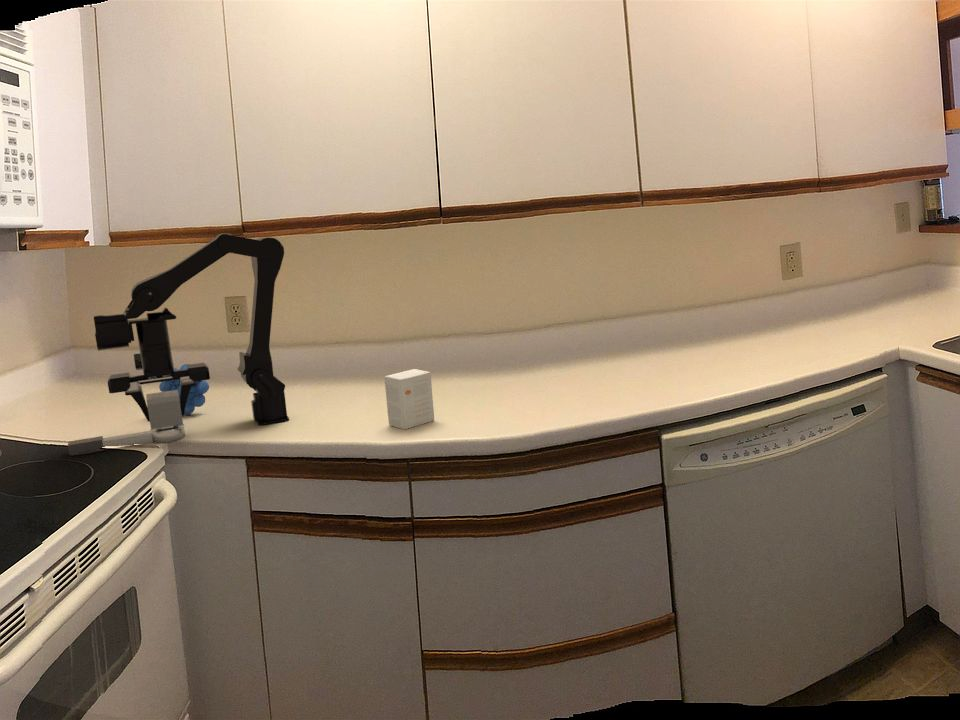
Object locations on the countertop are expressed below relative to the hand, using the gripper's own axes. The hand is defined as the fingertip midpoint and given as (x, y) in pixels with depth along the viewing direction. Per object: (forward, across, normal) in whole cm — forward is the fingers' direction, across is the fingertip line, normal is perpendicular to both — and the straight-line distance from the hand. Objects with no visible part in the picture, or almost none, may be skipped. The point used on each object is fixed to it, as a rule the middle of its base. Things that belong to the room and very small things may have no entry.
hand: (166, 418), depth 151 cm
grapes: (+4, -5, -19) cm, 20 cm away
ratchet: (+4, +8, 0) cm, 9 cm away
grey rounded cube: (+1, 0, 0) cm, 1 cm away
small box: (+5, -46, +20) cm, 50 cm away
